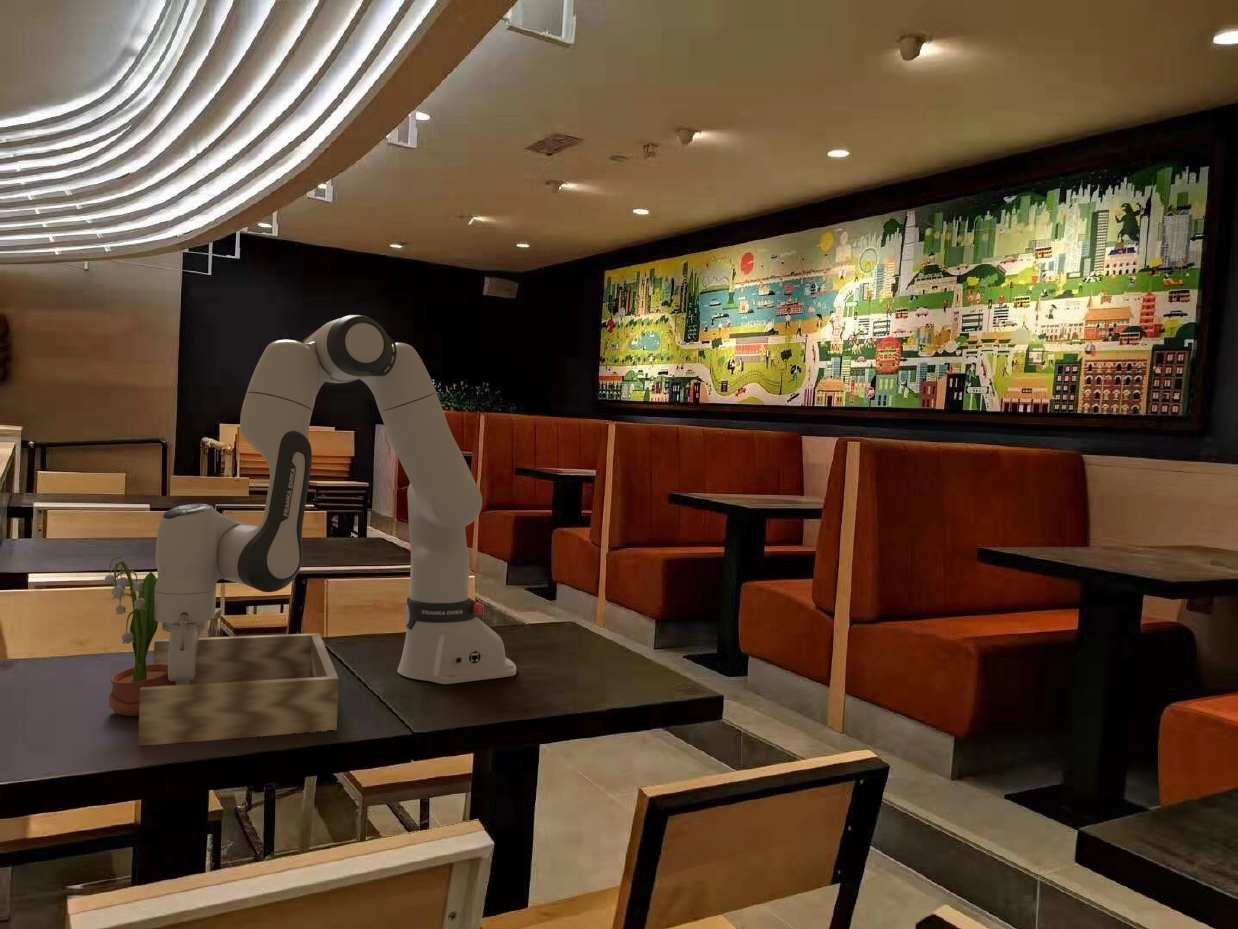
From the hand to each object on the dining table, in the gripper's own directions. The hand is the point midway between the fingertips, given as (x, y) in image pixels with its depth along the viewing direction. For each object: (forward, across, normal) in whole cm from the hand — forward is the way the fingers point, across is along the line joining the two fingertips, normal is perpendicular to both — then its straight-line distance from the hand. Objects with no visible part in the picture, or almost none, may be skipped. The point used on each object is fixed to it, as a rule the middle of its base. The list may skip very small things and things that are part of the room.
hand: (182, 693), depth 146 cm
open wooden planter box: (+3, 0, -8) cm, 9 cm away
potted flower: (+2, 0, +5) cm, 6 cm away
